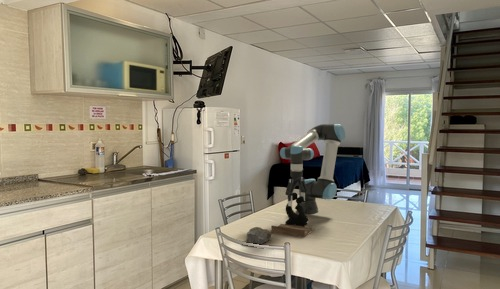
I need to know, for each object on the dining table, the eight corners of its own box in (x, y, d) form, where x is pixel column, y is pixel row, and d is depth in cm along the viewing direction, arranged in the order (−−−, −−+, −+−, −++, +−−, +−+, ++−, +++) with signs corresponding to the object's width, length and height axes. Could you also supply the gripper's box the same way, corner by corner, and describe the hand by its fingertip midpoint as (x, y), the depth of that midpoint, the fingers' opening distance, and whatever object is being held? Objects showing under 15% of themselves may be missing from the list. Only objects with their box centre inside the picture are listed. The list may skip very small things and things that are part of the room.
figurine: (283, 224, 232) (283, 193, 231) (289, 221, 239) (289, 190, 238) (305, 227, 225) (305, 194, 224) (310, 223, 233) (309, 192, 232)
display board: (281, 226, 228) (281, 219, 227) (312, 230, 218) (312, 222, 218) (271, 232, 214) (271, 225, 214) (304, 237, 205) (304, 229, 205)
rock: (263, 246, 191) (273, 239, 205) (264, 234, 191) (274, 227, 205) (241, 243, 196) (253, 235, 210) (242, 231, 196) (253, 224, 210)
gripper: (302, 168, 242) (302, 200, 243) (279, 171, 224) (279, 206, 225) (312, 169, 237) (312, 202, 238) (289, 172, 219) (289, 208, 219)
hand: (296, 204), depth 231 cm, fingers open, 13 cm apart
